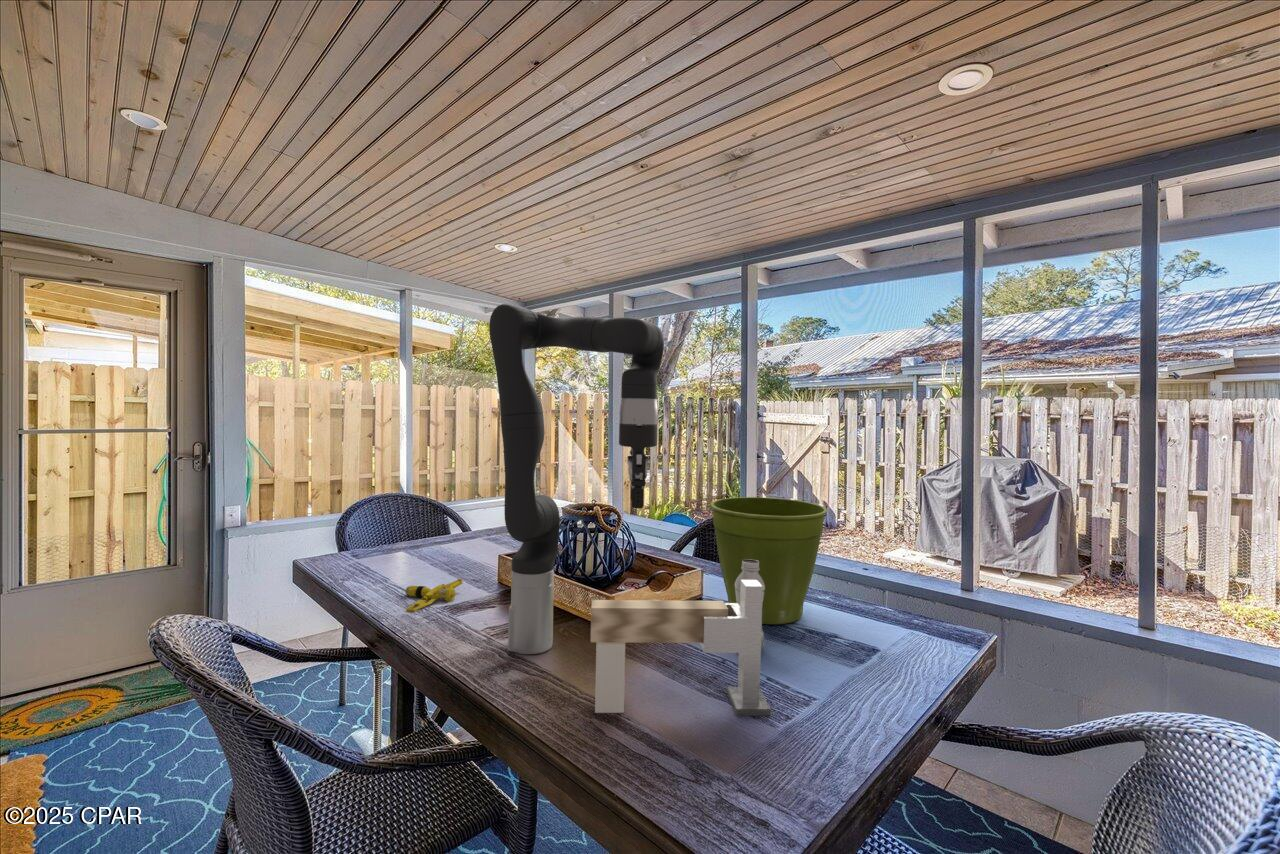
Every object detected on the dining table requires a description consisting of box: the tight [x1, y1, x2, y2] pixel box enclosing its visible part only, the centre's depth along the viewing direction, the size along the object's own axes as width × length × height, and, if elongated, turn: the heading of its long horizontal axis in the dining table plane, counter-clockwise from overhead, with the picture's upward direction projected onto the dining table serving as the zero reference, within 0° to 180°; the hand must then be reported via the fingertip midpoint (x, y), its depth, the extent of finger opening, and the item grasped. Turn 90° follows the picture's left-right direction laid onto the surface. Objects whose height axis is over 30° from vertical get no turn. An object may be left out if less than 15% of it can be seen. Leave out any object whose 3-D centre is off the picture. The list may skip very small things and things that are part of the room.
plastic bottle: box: [735, 559, 765, 651], centre depth 126 cm, size 6×7×20 cm
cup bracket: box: [699, 580, 772, 717], centre depth 102 cm, size 12×8×22 cm, turn 93°
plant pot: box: [710, 496, 828, 625], centre depth 150 cm, size 30×30×29 cm
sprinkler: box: [404, 578, 464, 613], centre depth 155 cm, size 19×4×15 cm
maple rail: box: [590, 599, 728, 644], centre depth 102 cm, size 24×4×6 cm, turn 93°
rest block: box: [594, 642, 626, 714], centre depth 101 cm, size 5×6×12 cm
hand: (636, 504), depth 112 cm, fingers open, 8 cm apart
